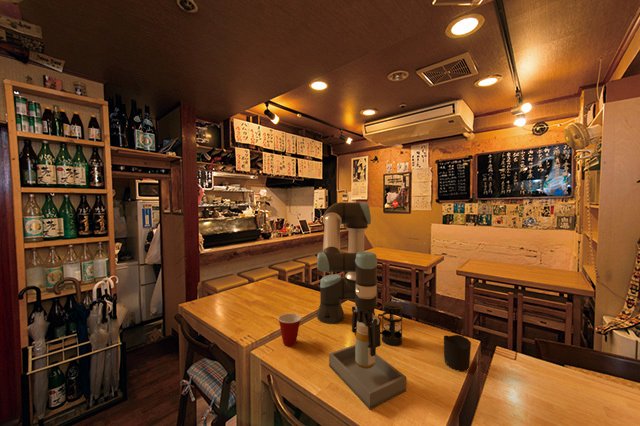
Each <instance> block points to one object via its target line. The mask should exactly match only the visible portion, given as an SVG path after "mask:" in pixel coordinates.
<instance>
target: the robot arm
mask: <svg viewBox="0 0 640 426" xmlns="http://www.w3.org/2000/svg"><path fill="white" fill-rule="evenodd" d="M322 216H323V217H322V223H323V225H324V229H323V242H322V243H323V244H322V251H321V252H318V253H317V256H316V258H317V259H316V269H317V270H318V272H327V273H329V272H331V273H332V272H335V273H337V272H340V273H342V272H344V273H345V276H344V277H342V275H341V274H328V275H324V276H323V277H322V278H321V279H320V285H319V289H320V290H319V291H320V293H319V295H320V298H319V299H320V300H319V301H320V303H319V306H318V310H317V312H316V319H317V320H318V321H319V322H321V323H324V324H338V323H341V322H343V321H344V319H345V313H344V310H343V307H342V301H354V302H355V304H354V306H352V307H351V311H352V312H351V315H352V316H351V317H352V319H351V332H352V333H354V337H356V332H357V321H359V322H361V321H364V323H365V326H367V327H368V339H369V345H368V365H370V364H373V363H375V355H376V354H377V351H376V350H377V349H376V348H379V347H381V334H380V332H381V323H382V318H381V317H379V318H378V316H377V315H376V312H375V309H376V308H377V295H378V293H377V291H378V290H377V286H378V285H377V278H378V277H377V276H378V275H377V274H378V273H377V272H378V271H377V270H378V257H377V254H376V253H374V252H371V251H365V233H366V232H365V231H366V230H367V229H369V228H368V225H371V223H372V222H371V221H372V218H371V217H372V216H371V209H370V206H369V204H368V203H367V202H360V201H359V202H358V201H357V202H355V201H353V202H351V201H349V202H346V201H345V202H342V201H340V202H336V203H333V204H332V205H330V206H329V207H327V209H326V210H325V212H324V214H323V215H322ZM341 225H345V228H346V229H347V230H348V241H347V242H348V249H347V251H348V252H341ZM369 322H370V323H369ZM370 326H371V327H370ZM372 342H373V343H372Z"/></svg>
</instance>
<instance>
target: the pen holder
mask: <svg viewBox="0 0 640 426" xmlns="http://www.w3.org/2000/svg"><path fill="white" fill-rule="evenodd" d="M471 345H472V342H471V341H470V340H469V339H468V338H467V337H465V336H462V335H460V334H454V335H447V334H446V335H444V336H443V359H444V360H443V361H444V363H445V365H446V366H447V367H448V366H449V367H448V368H450V369H452V370H454V369H455V371H457V370H459V371H458V372H465V371H464V370H466V371H468V370H469V369H470V365H471V364H470V361H471V348H472V347H471ZM468 368H469V369H468ZM467 369H468V370H467Z"/></svg>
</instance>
